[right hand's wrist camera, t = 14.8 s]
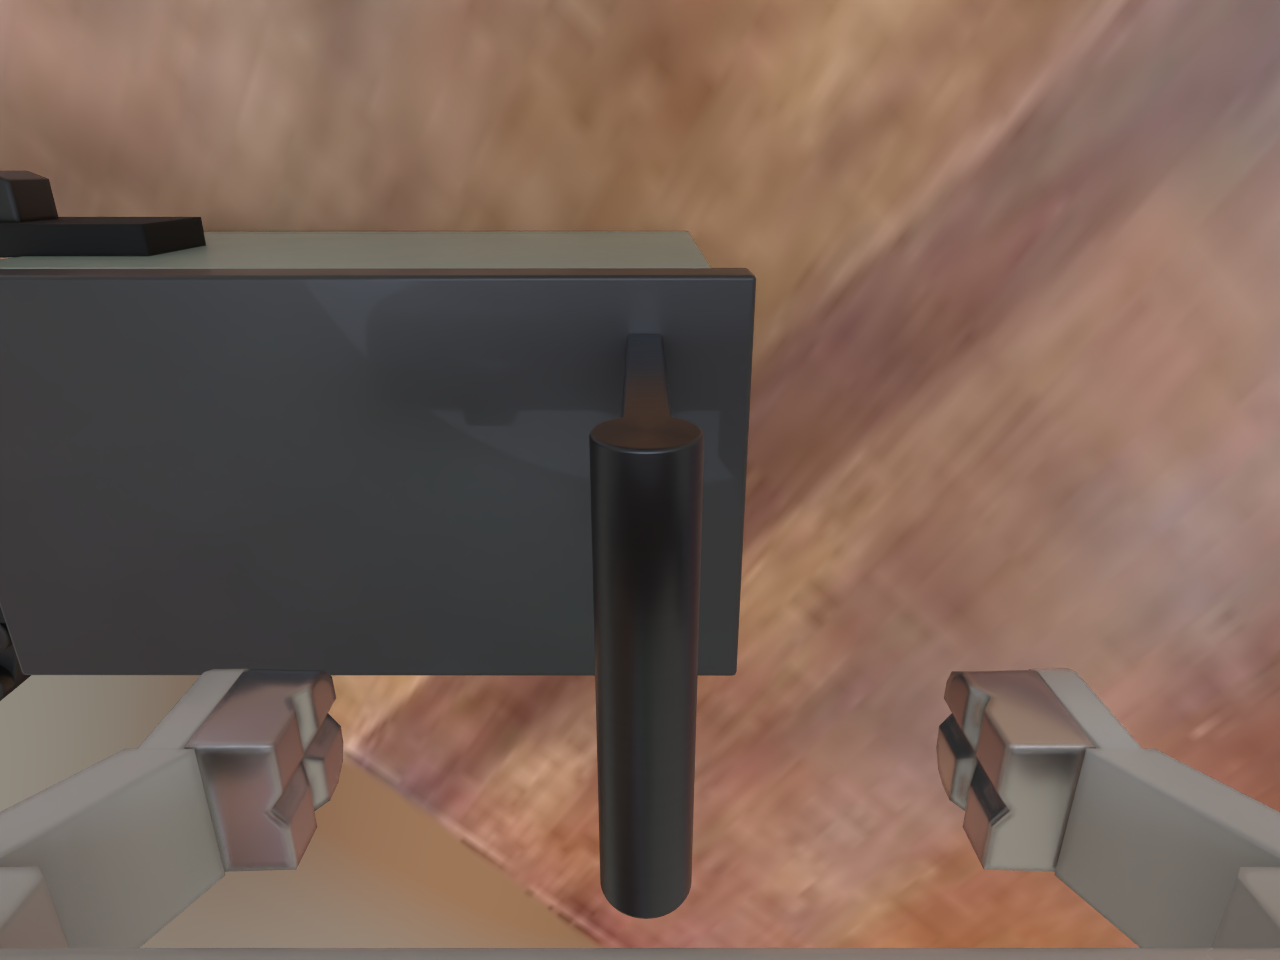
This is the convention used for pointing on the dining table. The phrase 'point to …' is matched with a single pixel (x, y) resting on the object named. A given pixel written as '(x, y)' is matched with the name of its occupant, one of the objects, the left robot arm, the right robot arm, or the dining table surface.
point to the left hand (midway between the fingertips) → (214, 426)
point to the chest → (405, 251)
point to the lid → (393, 492)
